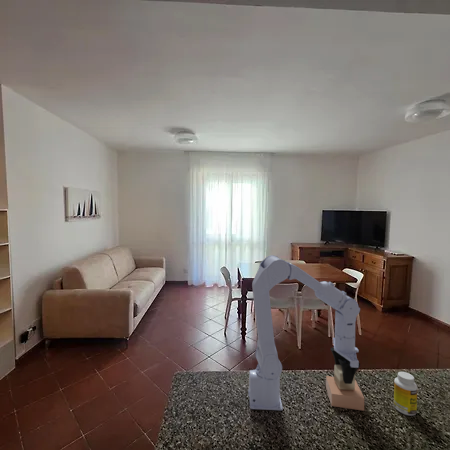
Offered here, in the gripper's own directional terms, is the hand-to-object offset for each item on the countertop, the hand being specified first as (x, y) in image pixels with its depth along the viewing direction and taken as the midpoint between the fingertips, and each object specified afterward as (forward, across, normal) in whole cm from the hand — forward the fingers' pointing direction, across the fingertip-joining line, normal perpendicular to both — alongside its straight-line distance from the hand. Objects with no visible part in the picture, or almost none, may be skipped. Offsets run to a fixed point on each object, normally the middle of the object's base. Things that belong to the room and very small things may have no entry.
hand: (344, 377), depth 80 cm
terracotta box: (+7, 0, 0) cm, 7 cm away
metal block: (+2, 0, 0) cm, 2 cm away
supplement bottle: (+7, -4, -16) cm, 18 cm away
